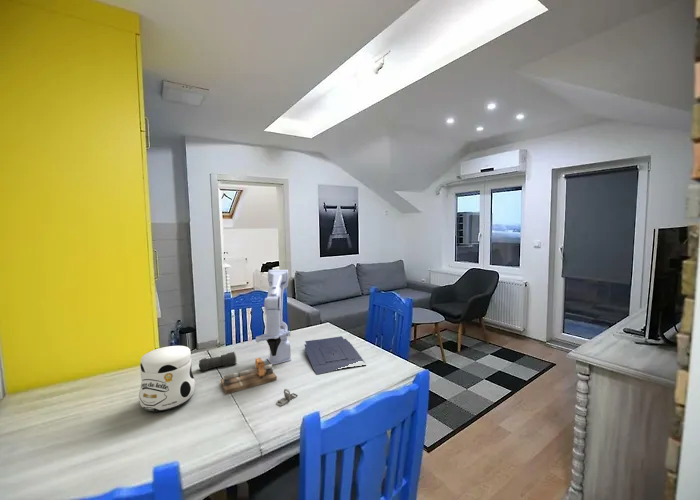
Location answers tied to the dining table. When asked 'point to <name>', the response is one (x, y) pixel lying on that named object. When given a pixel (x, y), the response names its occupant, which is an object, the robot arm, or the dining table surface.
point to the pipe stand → (247, 379)
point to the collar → (260, 366)
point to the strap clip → (286, 398)
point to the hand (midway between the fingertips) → (273, 355)
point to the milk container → (166, 378)
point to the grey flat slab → (331, 354)
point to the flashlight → (217, 361)
